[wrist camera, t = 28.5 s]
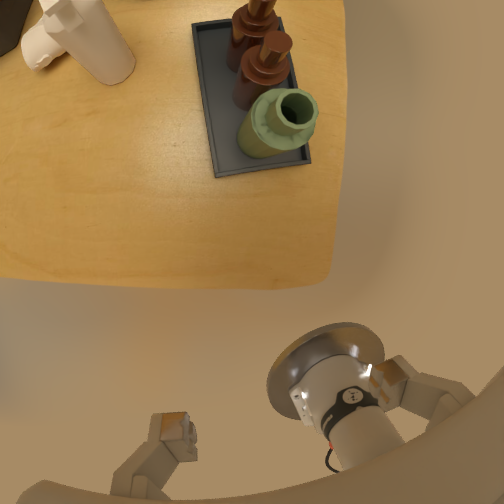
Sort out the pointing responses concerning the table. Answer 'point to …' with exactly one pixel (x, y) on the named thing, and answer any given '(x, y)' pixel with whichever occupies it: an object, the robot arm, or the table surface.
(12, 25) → the storage bin
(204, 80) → the tray
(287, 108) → the green bottle
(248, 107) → the bottle row
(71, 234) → the table surface
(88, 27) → the fire extinguisher
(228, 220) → the table surface
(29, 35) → the mug
